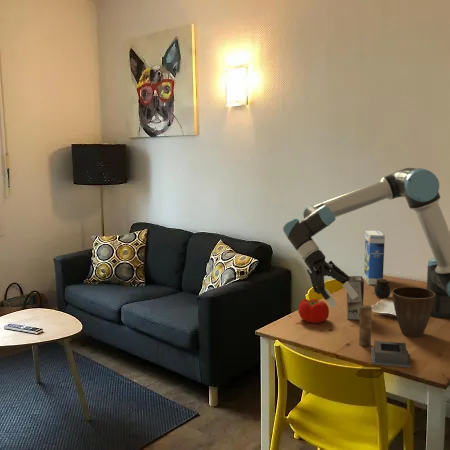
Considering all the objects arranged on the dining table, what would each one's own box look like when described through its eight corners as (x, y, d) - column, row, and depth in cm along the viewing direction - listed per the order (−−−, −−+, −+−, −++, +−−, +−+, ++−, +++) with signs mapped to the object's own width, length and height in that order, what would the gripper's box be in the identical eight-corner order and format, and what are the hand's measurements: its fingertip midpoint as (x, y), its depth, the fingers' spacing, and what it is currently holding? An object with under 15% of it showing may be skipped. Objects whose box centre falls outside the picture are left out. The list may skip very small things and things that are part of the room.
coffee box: (363, 320, 200) (364, 281, 198) (346, 319, 202) (347, 281, 199) (361, 312, 209) (362, 275, 207) (346, 312, 210) (346, 275, 208)
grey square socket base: (407, 352, 168) (408, 342, 168) (410, 368, 157) (411, 356, 156) (370, 349, 171) (371, 339, 171) (371, 364, 160) (371, 353, 159)
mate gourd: (392, 299, 227) (393, 277, 226) (376, 299, 227) (376, 278, 226) (387, 294, 234) (388, 273, 233) (371, 294, 234) (372, 274, 233)
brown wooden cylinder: (370, 343, 177) (371, 305, 175) (370, 347, 173) (371, 309, 171) (359, 342, 178) (360, 304, 176) (359, 346, 174) (360, 308, 172)
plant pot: (411, 343, 176) (413, 300, 173) (382, 330, 189) (383, 289, 187) (442, 336, 182) (444, 294, 179) (412, 323, 195) (413, 284, 193)
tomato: (335, 320, 201) (335, 300, 200) (317, 328, 192) (317, 307, 191) (309, 313, 210) (310, 293, 209) (291, 320, 201) (291, 300, 200)
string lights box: (363, 278, 264) (365, 230, 260) (378, 278, 263) (379, 230, 259) (368, 284, 251) (369, 234, 247) (383, 285, 250) (385, 234, 246)
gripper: (324, 255, 198) (356, 299, 189) (285, 266, 181) (318, 315, 172) (336, 244, 193) (369, 288, 185) (297, 254, 176) (332, 304, 168)
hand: (345, 301), depth 179 cm, fingers open, 13 cm apart
